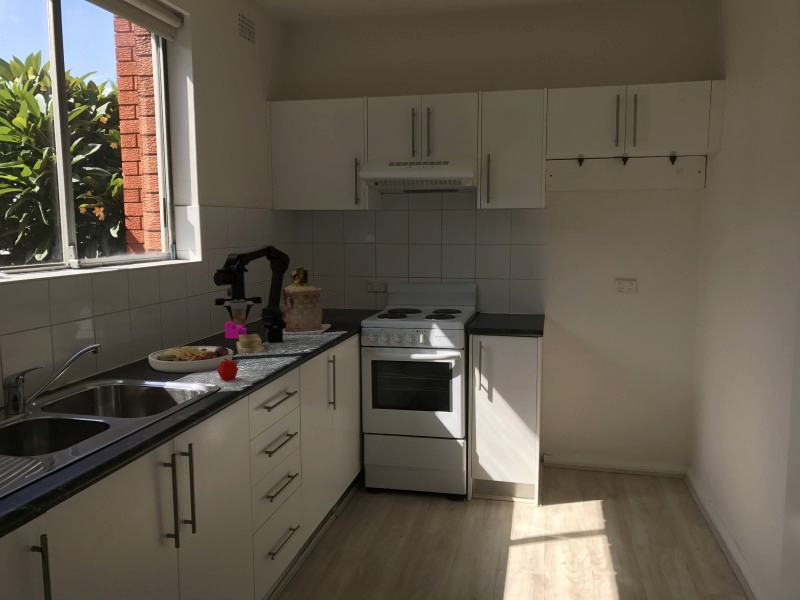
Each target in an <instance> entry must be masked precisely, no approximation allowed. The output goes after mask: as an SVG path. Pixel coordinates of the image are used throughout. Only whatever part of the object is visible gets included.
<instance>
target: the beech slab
mask: <svg viewBox="0 0 800 600" xmlns="http://www.w3.org/2000/svg"><path fill="white" fill-rule="evenodd" d="M236 349H237V352H238V354H239V355H244V354H245V355H246V353H248V354H260V353H261V354H262V353H265V346H264V345H263V344H262V347H260V348H243V349H242V348H241V346H240V343H239V341H236Z"/></svg>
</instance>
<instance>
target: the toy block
mask: <svg viewBox="0 0 800 600" xmlns="http://www.w3.org/2000/svg"><path fill="white" fill-rule="evenodd" d="M224 333H225V334H224V335H225V337H224V338H225V339H239V335H246V334H247V327H246V325H233V321H226V322H224Z"/></svg>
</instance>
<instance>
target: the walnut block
mask: <svg viewBox="0 0 800 600" xmlns="http://www.w3.org/2000/svg"><path fill="white" fill-rule="evenodd" d="M231 309H232V315H233V321H232V322H233V325H245V326H246V324H247V323H246V322H247V321H246V318H245V314H246V308H231Z"/></svg>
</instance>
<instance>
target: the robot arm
mask: <svg viewBox="0 0 800 600" xmlns="http://www.w3.org/2000/svg"><path fill="white" fill-rule="evenodd" d="M263 257H265V258H266V259H265V260H267V261H269V267H270V271H271V273H272V274H271V280H270V281H271V283H270V287H269V296H268V303H267V305H266V306H265V308H264V307H263V308H262V309H261V316H260V318H261V321H262V325H263V326H264V329H267V331H266V342H268V344H280V343H284V334H283V329H285V328H286V323H285V321H284V320H283V314H282V313H283V312H282V310H281V308H280V305H281V304H280V302H281V297H282V291H283V282H284V275H285V274H286V272H287V271H288V269H289V265H290V262H291V258H290V257H289V255H288V254H287V253H285V252H283V251H282V250H280V249H278V248H276V247H275V245H274V246H273V245H272V244H269V245H268V244H264V245H263V246H259V247H257V248H254V249H250V250H248V251H245V252H231V253H229V254H228V255H227V258H226V260H225V262H224V264H223V266H222V268H216V272H215V273H214V275H213V278H212V279H213V283H214V284H215V285H216V286H218V287H222V286H229V285H230V288H226V290H227V291H226V294H227V295H226V296H227V297H229V298H225V296H217V297H215V298H214V305H215V306H222V307H223V308H225V309H226V310H227V312H228V314H229V316H230V318H231V322H233V310H232V309H233V308H232V304H233V303H234V304H235V303H237V304H239V303H246V304H245V318H246V322H247V319H248V318H249V313H250V310H251V309H252V307H254V306H255V304H259V305H260V304H262V303H263V299H262V296H261V295H260V294H259V295H258V294H257V295H251V297H246V284H245V283H246V281H245V278H246V277H245V273H248V272H249V269H247V268H246V266H248V265H249V264H250V262H252V261H255V260H258V259H260V258H263Z"/></svg>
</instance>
